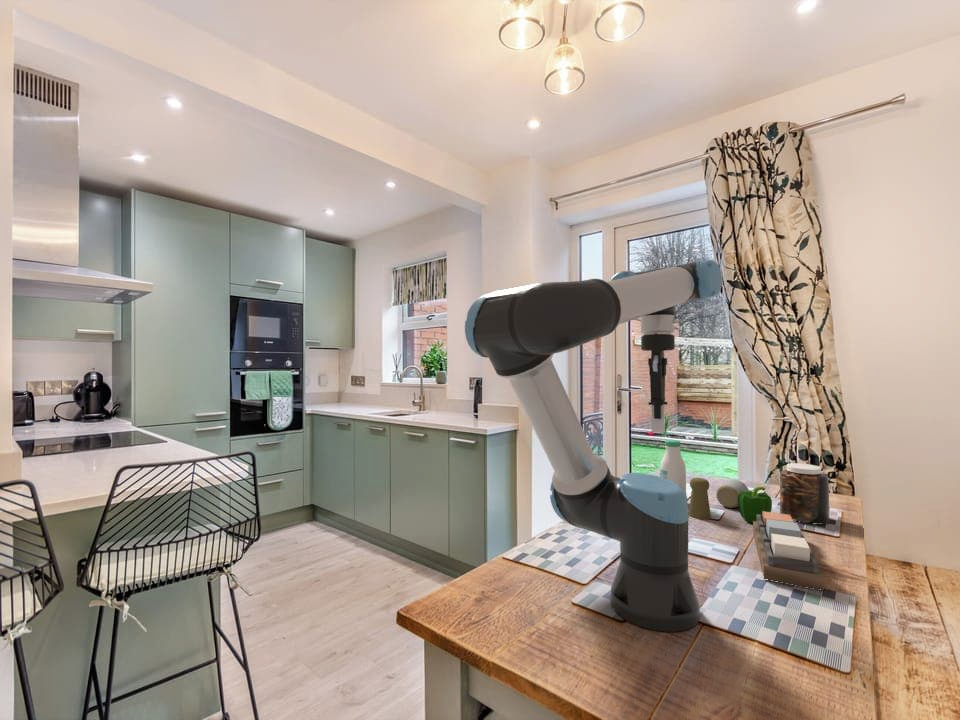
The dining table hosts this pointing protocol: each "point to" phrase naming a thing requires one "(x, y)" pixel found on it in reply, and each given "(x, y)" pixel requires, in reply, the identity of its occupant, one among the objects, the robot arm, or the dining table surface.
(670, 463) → the milk bottle
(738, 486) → the ceramic mug
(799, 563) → the block tray
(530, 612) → the dining table surface
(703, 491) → the pepper mill
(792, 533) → the slate block
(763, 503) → the bell pepper
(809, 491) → the jar
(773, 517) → the terracotta block
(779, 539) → the cream block
